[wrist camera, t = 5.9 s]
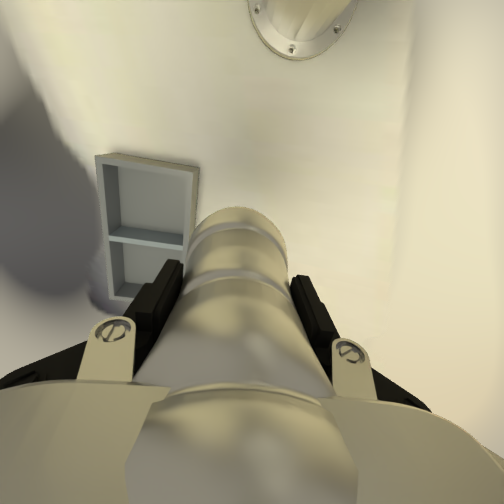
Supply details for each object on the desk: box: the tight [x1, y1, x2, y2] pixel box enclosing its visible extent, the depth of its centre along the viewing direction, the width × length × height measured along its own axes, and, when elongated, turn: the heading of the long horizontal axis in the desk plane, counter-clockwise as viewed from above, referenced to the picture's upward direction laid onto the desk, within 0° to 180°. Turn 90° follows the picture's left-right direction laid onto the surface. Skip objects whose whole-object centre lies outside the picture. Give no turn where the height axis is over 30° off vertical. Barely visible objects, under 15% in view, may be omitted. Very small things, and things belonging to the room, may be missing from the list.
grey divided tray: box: [95, 153, 199, 302], centre depth 37 cm, size 22×12×5 cm, turn 170°
